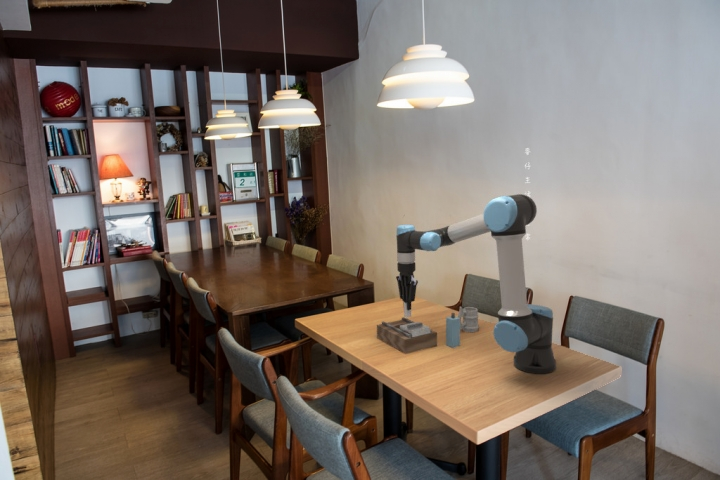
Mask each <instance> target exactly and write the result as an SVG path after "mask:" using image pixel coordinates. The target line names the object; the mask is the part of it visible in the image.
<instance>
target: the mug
mask: <svg viewBox="0 0 720 480" xmlns="http://www.w3.org/2000/svg"><path fill="white" fill-rule="evenodd" d="M478 313H479V310H478V308H476V307H474V306H466V307H465V306H464V308H463V307H462V306H459V311H458V314H457V317H458V318H460V331H462V332H466V333H476V332H478V331H479V327H480V325H479V314H478Z"/></svg>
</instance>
